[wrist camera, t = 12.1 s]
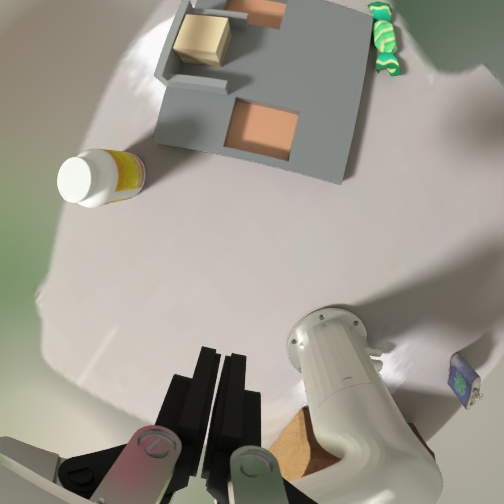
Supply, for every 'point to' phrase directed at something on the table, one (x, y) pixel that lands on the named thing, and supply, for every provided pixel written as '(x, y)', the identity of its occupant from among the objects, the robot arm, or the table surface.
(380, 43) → the candy
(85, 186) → the supplement bottle
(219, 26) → the block
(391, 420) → the robot arm
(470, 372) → the flask
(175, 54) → the plate
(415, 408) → the table surface
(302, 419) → the bread
